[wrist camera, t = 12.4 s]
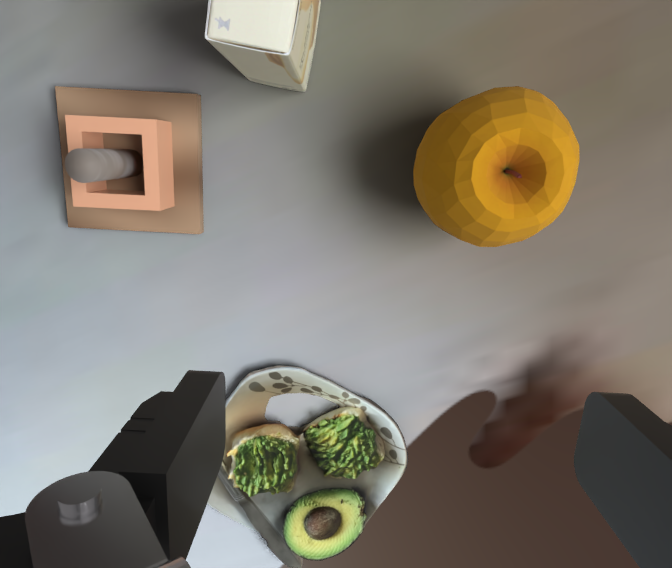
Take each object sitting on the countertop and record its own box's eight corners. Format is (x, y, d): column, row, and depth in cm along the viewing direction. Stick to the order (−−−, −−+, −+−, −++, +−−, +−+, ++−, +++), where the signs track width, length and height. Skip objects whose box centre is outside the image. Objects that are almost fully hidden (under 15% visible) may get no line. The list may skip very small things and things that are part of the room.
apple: (475, 67, 35) (541, 27, 24) (560, 166, 37) (658, 173, 25) (376, 166, 37) (393, 174, 25) (461, 256, 38) (512, 300, 27)
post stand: (62, 88, 35) (-15, 70, 28) (200, 95, 35) (162, 80, 28) (75, 225, 38) (7, 244, 30) (203, 231, 38) (168, 252, 30)
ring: (87, 117, 35) (64, 114, 32) (171, 122, 35) (156, 119, 32) (94, 202, 37) (73, 206, 34) (174, 206, 37) (160, 210, 34)
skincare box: (306, 93, 35) (290, 64, 24) (247, 81, 35) (201, 46, 23) (323, -4, 34) (314, -88, 22) (261, -18, 34) (218, -109, 22)
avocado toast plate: (141, 471, 44) (119, 507, 40) (240, 316, 40) (227, 336, 36) (321, 567, 47) (319, 611, 43) (430, 430, 43) (440, 462, 39)
